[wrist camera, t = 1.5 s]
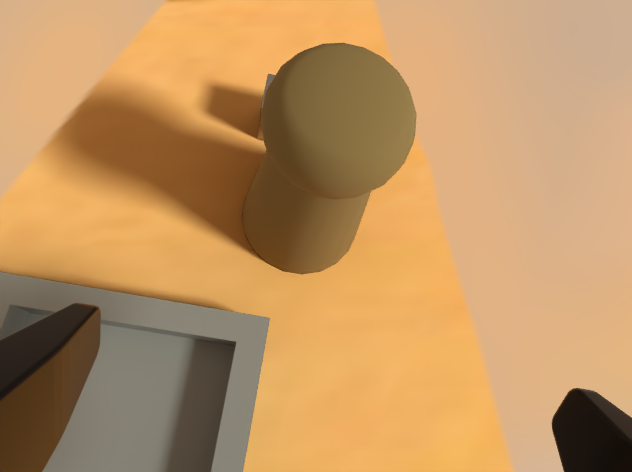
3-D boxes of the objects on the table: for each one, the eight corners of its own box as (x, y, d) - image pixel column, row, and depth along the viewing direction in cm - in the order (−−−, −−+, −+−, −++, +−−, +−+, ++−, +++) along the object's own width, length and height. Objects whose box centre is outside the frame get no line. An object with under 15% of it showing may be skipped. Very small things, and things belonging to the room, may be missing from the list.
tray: (215, 611, 19) (212, 642, 17) (-94, 581, 18) (-143, 609, 15) (265, 325, 23) (269, 318, 20) (15, 283, 21) (-11, 270, 19)
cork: (217, 227, 24) (207, 100, 14) (286, 144, 26) (324, -20, 16) (315, 298, 24) (381, 222, 13) (377, 208, 26) (476, 83, 15)
